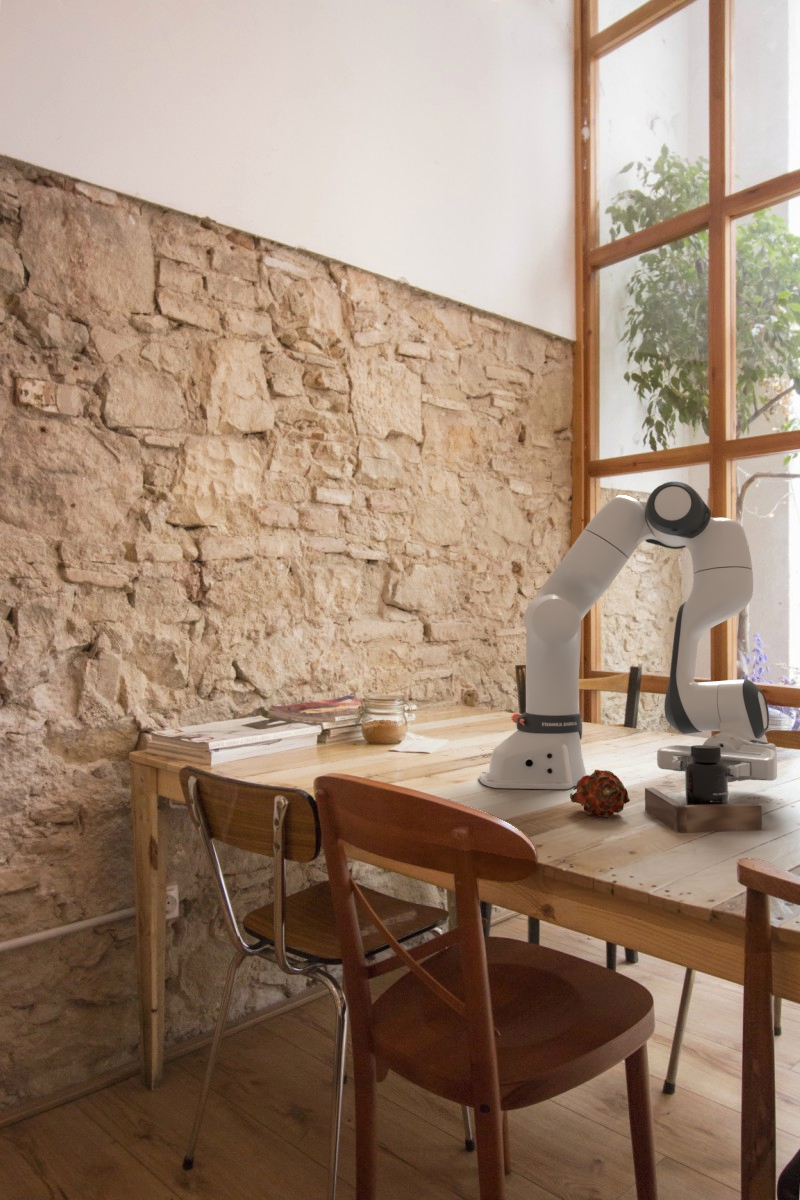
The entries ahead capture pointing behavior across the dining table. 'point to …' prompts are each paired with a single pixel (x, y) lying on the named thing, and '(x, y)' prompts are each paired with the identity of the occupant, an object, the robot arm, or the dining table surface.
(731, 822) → the corner arena
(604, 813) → the dragon fruit
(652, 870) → the dining table surface
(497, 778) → the robot arm
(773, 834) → the dining table surface
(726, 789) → the supplement bottle
